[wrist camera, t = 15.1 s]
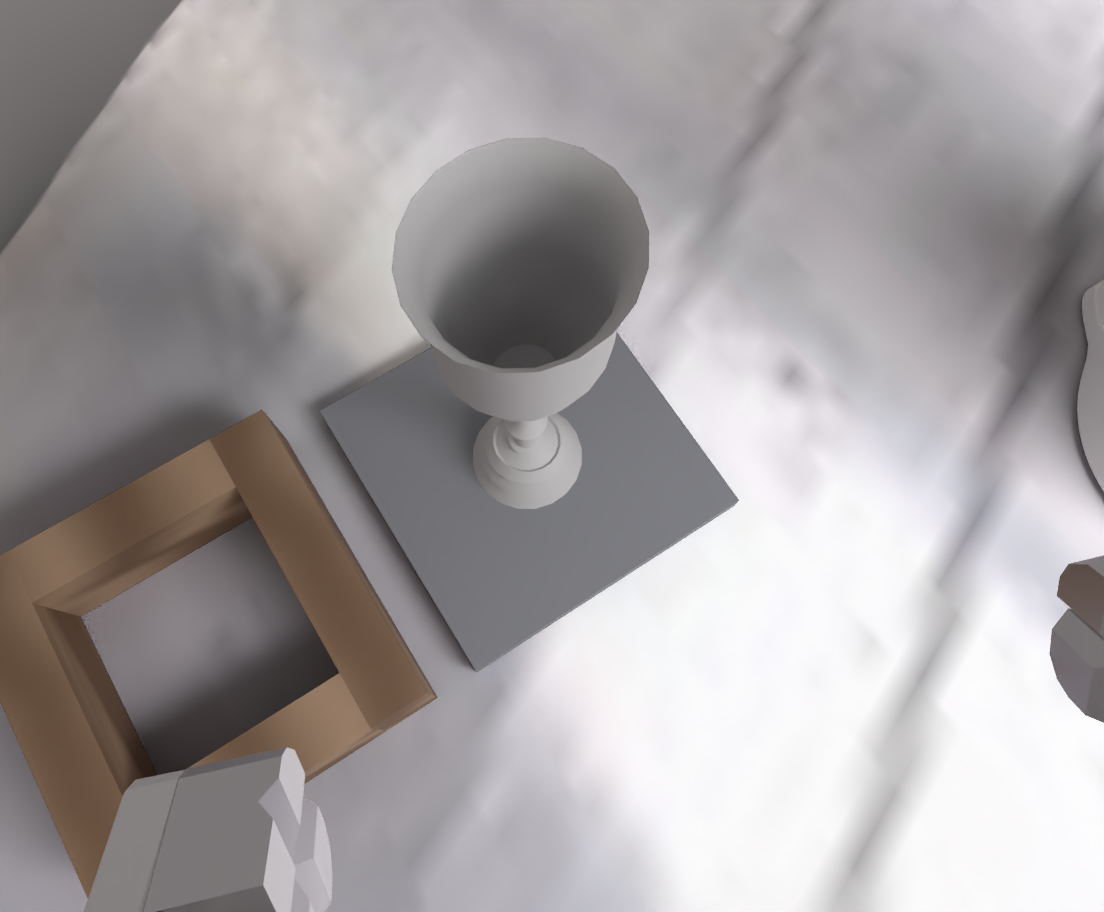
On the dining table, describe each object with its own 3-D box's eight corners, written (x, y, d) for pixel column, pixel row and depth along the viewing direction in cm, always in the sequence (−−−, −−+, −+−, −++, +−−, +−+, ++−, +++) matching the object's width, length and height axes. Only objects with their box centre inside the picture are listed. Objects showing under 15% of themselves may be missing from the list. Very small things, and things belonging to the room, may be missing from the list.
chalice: (499, 359, 42) (476, 100, 25) (628, 421, 42) (693, 197, 24) (423, 491, 40) (341, 305, 23) (557, 559, 40) (573, 419, 22)
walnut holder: (286, 439, 42) (262, 409, 38) (437, 697, 39) (426, 692, 35) (4, 599, 40) (-52, 584, 36) (139, 890, 36) (92, 908, 32)
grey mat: (570, 278, 45) (571, 269, 44) (734, 505, 41) (738, 500, 41) (324, 418, 42) (319, 410, 41) (477, 672, 39) (475, 670, 38)
